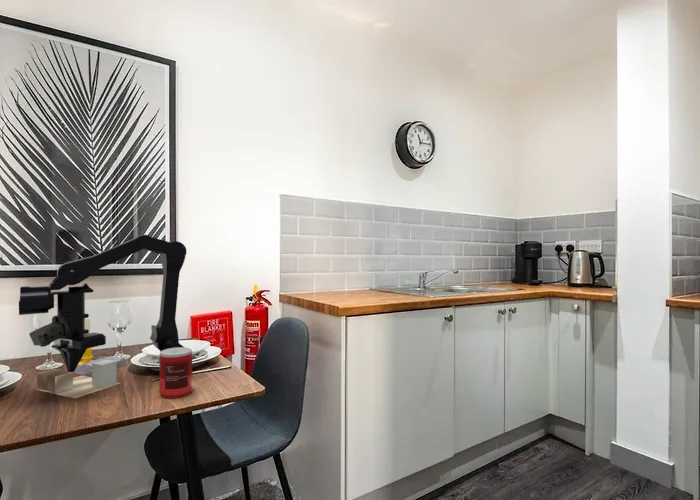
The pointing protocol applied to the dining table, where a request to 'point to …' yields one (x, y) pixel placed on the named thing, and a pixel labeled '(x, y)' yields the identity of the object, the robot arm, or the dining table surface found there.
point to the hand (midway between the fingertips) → (71, 371)
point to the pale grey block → (104, 373)
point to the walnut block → (55, 380)
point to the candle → (88, 352)
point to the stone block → (87, 367)
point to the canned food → (175, 372)
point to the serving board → (80, 387)
